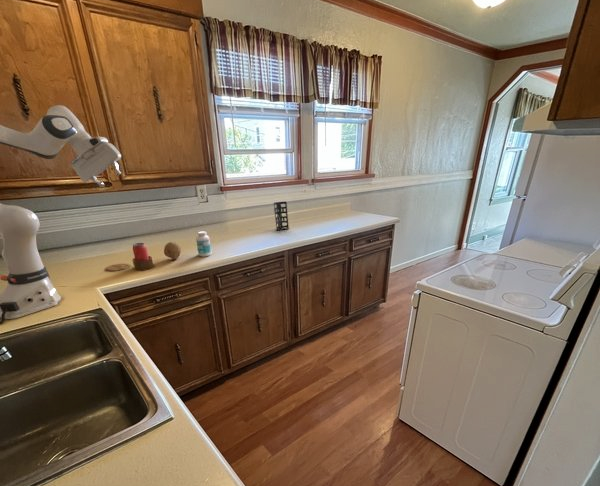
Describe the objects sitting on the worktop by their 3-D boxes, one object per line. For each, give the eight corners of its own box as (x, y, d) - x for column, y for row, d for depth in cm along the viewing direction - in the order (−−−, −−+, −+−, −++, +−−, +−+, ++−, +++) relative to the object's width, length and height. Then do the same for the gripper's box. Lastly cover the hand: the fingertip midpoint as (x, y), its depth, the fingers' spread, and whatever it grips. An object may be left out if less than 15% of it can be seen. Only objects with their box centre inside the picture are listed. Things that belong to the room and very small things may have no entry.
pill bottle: (196, 255, 194) (192, 232, 187) (207, 252, 198) (204, 230, 192) (202, 257, 189) (199, 234, 183) (214, 254, 194) (210, 232, 187)
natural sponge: (170, 263, 181) (166, 245, 176) (162, 259, 186) (159, 242, 182) (185, 259, 187) (182, 242, 182) (177, 256, 192) (174, 239, 187)
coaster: (116, 272, 168) (115, 271, 168) (101, 269, 172) (101, 268, 172) (133, 266, 177) (133, 265, 177) (119, 263, 181) (118, 262, 181)
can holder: (143, 271, 169) (141, 262, 167) (130, 269, 173) (128, 259, 170) (157, 265, 177) (155, 256, 174) (144, 263, 180) (142, 255, 178)
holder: (279, 230, 247) (277, 202, 239) (273, 229, 252) (270, 202, 244) (290, 228, 253) (288, 201, 245) (284, 227, 259) (282, 201, 251)
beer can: (145, 268, 171) (140, 246, 165) (134, 268, 172) (128, 245, 167) (153, 264, 177) (148, 242, 171) (142, 264, 178) (136, 242, 172)
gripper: (64, 162, 134) (89, 193, 139) (101, 134, 130) (125, 167, 135) (73, 162, 139) (97, 192, 145) (108, 135, 135) (132, 167, 141)
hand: (111, 180), depth 140 cm, fingers open, 8 cm apart
